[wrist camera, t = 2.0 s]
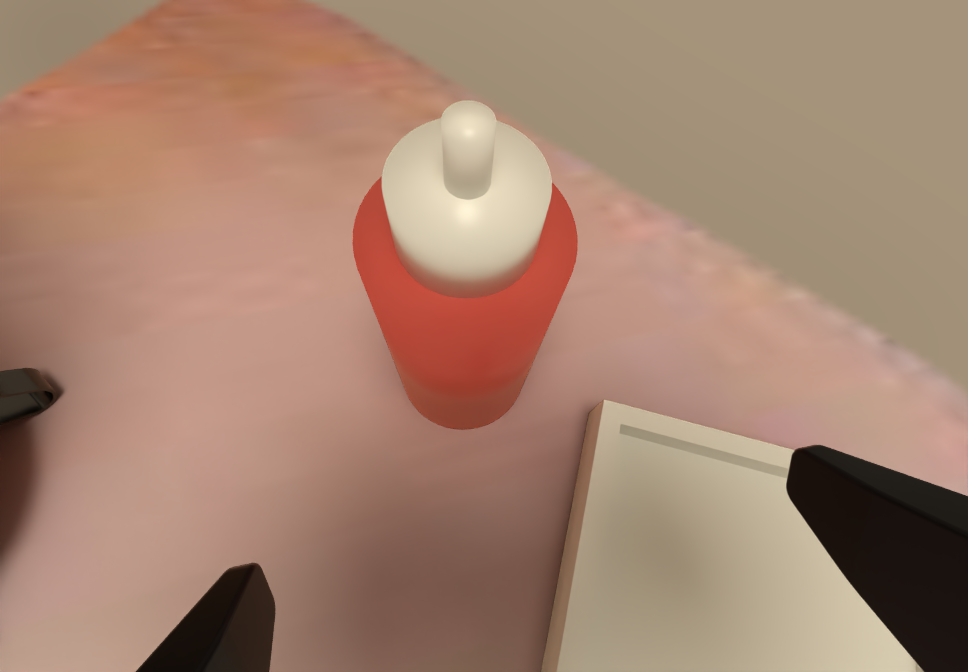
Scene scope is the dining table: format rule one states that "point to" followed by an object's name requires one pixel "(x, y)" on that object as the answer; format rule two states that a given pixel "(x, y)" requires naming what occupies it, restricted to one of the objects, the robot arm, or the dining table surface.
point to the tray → (699, 561)
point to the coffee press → (23, 394)
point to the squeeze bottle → (464, 262)
